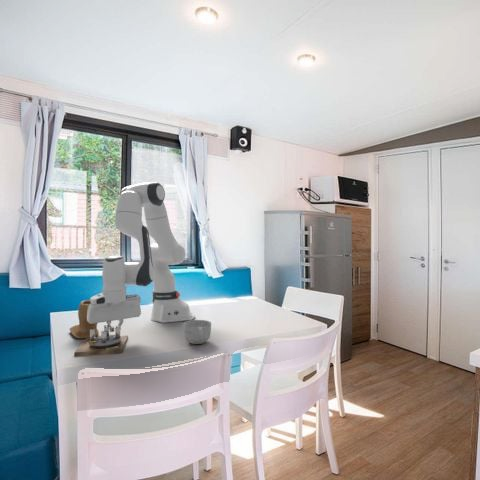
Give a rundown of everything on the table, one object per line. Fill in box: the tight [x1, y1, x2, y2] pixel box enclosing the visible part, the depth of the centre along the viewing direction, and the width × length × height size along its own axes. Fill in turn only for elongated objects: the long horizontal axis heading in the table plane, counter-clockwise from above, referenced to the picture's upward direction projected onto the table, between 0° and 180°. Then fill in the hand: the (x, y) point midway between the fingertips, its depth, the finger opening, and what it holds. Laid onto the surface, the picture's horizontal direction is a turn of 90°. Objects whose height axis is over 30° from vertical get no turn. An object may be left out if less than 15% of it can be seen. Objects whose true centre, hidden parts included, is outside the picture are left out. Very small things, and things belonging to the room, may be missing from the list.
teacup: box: [183, 319, 212, 345], centre depth 131 cm, size 14×11×8 cm
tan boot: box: [69, 299, 100, 339], centre depth 142 cm, size 15×12×15 cm
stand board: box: [73, 334, 129, 357], centre depth 126 cm, size 16×17×2 cm
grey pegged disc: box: [87, 324, 121, 348], centre depth 125 cm, size 11×11×6 cm
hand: (115, 330), depth 132 cm, fingers closed
